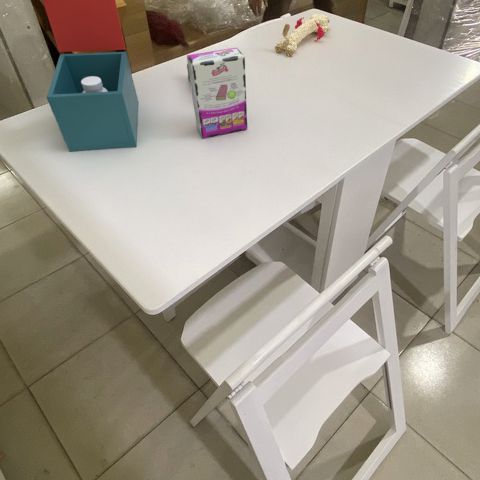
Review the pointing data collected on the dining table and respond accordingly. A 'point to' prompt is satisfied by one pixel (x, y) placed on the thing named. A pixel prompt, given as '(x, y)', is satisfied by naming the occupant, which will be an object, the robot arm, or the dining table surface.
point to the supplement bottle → (92, 85)
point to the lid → (85, 25)
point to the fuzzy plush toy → (302, 32)
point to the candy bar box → (218, 91)
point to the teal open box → (95, 101)
